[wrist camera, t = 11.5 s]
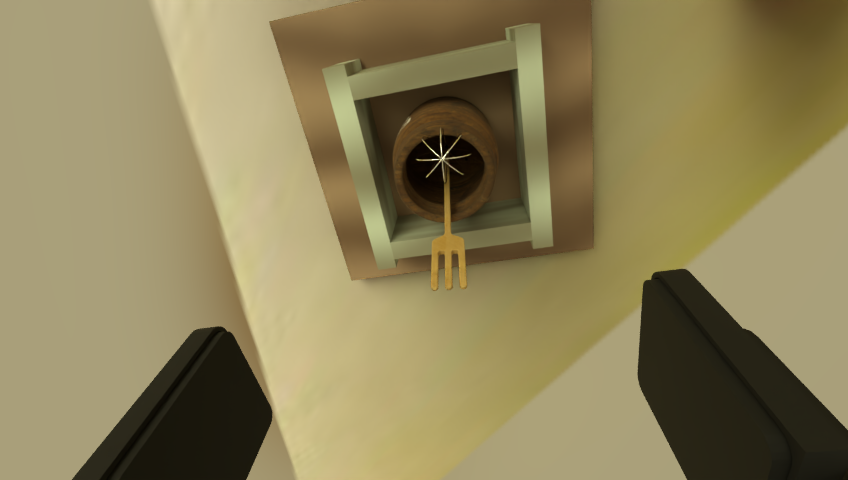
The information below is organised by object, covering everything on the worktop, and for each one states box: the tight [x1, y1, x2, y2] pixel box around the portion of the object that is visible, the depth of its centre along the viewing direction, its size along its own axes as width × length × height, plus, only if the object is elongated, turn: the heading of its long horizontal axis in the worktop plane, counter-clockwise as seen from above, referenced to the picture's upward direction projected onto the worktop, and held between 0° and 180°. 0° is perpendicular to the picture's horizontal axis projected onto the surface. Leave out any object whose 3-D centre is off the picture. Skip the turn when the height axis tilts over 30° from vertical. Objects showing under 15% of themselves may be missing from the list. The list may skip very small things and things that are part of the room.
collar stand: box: [269, 0, 594, 280], centre depth 26 cm, size 18×18×6 cm
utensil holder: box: [393, 96, 499, 291], centre depth 21 cm, size 6×6×12 cm
